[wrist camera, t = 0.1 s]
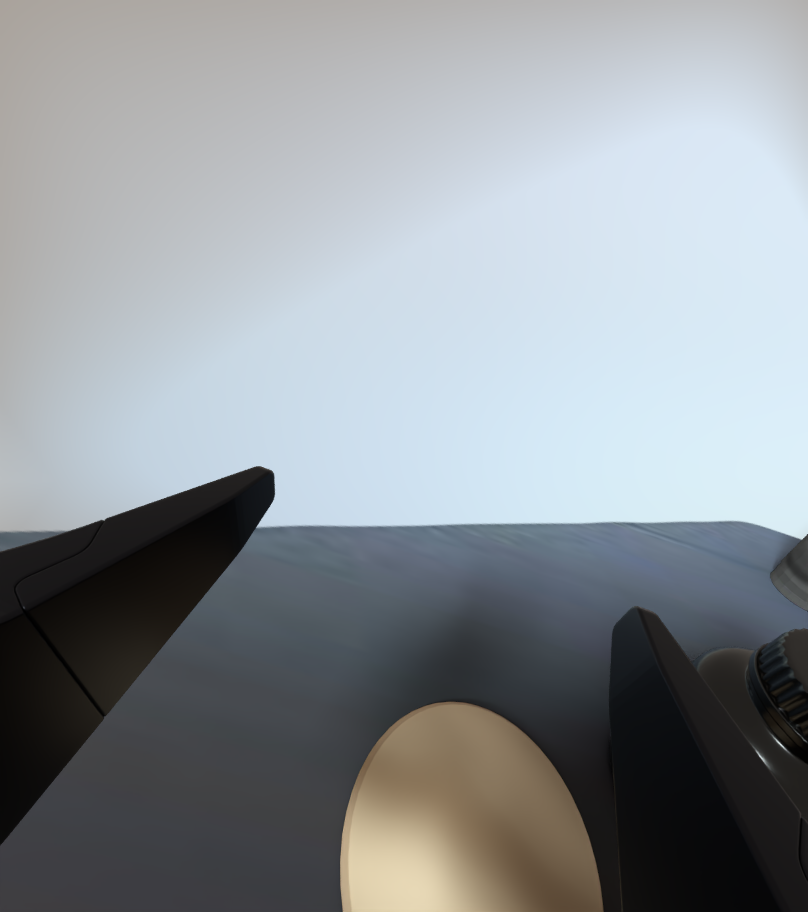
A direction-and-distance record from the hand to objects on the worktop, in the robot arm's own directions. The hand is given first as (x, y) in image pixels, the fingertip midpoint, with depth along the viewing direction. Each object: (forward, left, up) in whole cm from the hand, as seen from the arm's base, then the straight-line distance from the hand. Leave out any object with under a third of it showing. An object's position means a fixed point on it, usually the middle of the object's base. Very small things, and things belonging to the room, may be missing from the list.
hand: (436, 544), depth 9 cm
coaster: (-1, -6, -17) cm, 18 cm away
